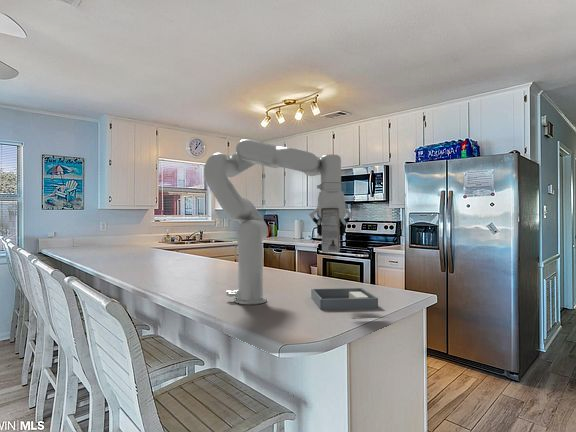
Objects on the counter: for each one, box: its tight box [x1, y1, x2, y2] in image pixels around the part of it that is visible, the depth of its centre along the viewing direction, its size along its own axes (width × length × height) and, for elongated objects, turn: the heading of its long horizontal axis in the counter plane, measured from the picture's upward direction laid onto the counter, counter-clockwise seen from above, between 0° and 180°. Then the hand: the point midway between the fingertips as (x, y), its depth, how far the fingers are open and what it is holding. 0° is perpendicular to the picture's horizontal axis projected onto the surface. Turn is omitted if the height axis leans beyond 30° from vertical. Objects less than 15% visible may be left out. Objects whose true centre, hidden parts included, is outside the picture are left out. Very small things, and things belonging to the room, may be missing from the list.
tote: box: [310, 287, 379, 311], centre depth 135 cm, size 21×19×4 cm
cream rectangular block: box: [349, 292, 369, 298], centre depth 136 cm, size 4×10×3 cm, turn 6°
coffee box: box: [321, 208, 341, 253], centre depth 136 cm, size 9×6×16 cm
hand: (331, 235), depth 136 cm, fingers closed on coffee box, 7 cm apart
